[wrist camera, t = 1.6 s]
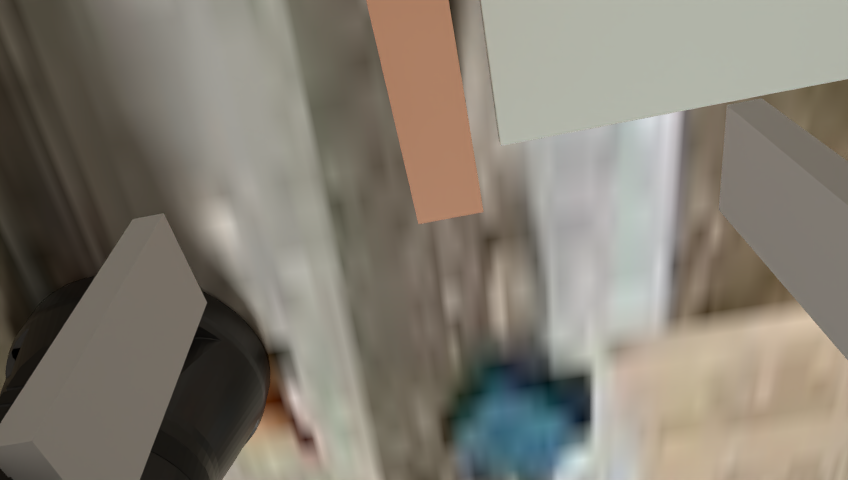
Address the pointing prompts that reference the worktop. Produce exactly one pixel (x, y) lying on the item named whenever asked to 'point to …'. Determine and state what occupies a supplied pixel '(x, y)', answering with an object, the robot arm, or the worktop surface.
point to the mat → (650, 57)
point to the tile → (428, 105)
